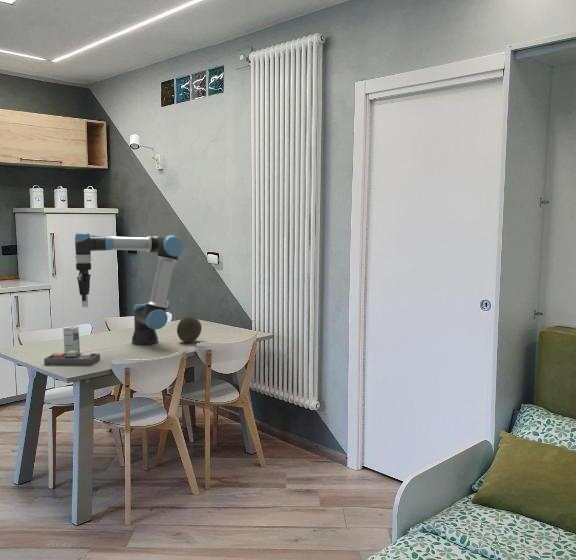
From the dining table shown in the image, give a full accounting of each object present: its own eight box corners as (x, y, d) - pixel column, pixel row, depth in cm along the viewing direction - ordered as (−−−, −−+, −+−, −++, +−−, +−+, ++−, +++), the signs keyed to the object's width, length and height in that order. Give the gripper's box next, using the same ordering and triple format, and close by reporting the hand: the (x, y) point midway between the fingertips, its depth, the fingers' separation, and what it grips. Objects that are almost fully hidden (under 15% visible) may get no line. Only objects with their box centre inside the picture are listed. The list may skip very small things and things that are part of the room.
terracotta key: (65, 356, 304) (64, 352, 304) (61, 358, 300) (61, 355, 300) (56, 356, 304) (56, 352, 304) (52, 358, 300) (52, 354, 300)
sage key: (78, 354, 304) (78, 350, 304) (75, 356, 299) (74, 352, 299) (69, 354, 304) (69, 350, 304) (66, 356, 300) (66, 352, 299)
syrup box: (73, 354, 318) (72, 328, 316) (64, 354, 319) (62, 327, 318) (79, 352, 323) (78, 326, 322) (70, 351, 325) (69, 325, 323)
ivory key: (91, 357, 304) (91, 353, 303) (88, 359, 299) (88, 355, 299) (83, 357, 304) (83, 353, 304) (80, 359, 299) (80, 355, 299)
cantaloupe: (196, 345, 342) (196, 319, 340) (173, 344, 345) (173, 318, 343) (204, 340, 355) (204, 315, 354) (182, 339, 358) (182, 314, 357)
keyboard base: (100, 359, 308) (99, 352, 307) (91, 365, 296) (91, 358, 295) (54, 359, 308) (54, 352, 308) (44, 364, 297) (44, 357, 296)
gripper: (81, 261, 317) (82, 304, 320) (71, 263, 304) (73, 308, 307) (95, 261, 317) (96, 305, 319) (85, 263, 304) (87, 308, 306)
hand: (85, 306), depth 313 cm, fingers closed
